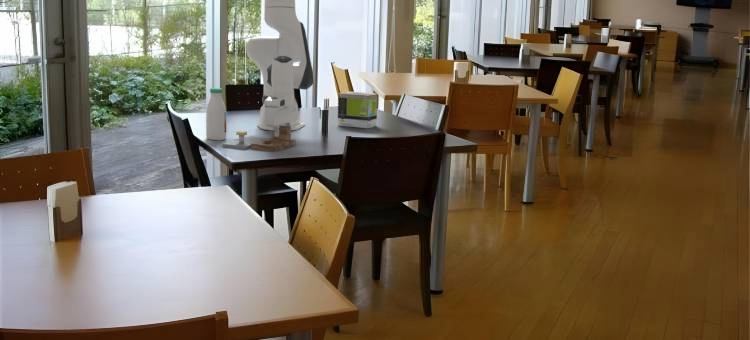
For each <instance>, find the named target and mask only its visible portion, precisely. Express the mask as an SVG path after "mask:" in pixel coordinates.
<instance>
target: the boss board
mask: <svg viewBox="0 0 750 340" xmlns="http://www.w3.org/2000/svg"><path fill="white" fill-rule="evenodd" d="M235 133H236V134H235V135H237V136H238V139H234V140H231V141H227V142H224V143H222V144H221V145H222V148H228V149H237V150H249V149H251V144H252V143H255V142H258V141H262V140H265V139H269V138H270V137H263V136H254V135H250V136H249V135H248V132H247V131H245V130H238V131H235Z"/></svg>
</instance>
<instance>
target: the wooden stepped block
mask: <svg viewBox="0 0 750 340" xmlns="http://www.w3.org/2000/svg"><path fill="white" fill-rule="evenodd" d="M272 132H273V134H272V135H273V136H272V137H268V138H269V139H265V140H262V141H258V142H255V143H252V144H251V148H250V149H251V150H257V151H265V152H274V153H275V152H278V151H281V150H284V149H287V148H290V147H294V146H296V139H292V137H291V136H292V130H291V127H290V126H281V125H279V132H280V136H279V137H275V135H274V133H275V132H274V130H272Z"/></svg>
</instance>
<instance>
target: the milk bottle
mask: <svg viewBox="0 0 750 340" xmlns="http://www.w3.org/2000/svg"><path fill="white" fill-rule="evenodd" d="M209 92H210V93H209V94H210V98H209V101H208V104H207V105H206V117H205V118H206V119H205V120H206V121H205V123H206V126H205V130H206V133H205V134H206V136H205V137H206V139H207V140H210V141H223V140H226V139H227V109H226V105H225V102H224V101H223V97H222V94H223V89H222V88H221V87H211V88H210V89H209Z"/></svg>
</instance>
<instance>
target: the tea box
mask: <svg viewBox="0 0 750 340" xmlns="http://www.w3.org/2000/svg"><path fill="white" fill-rule="evenodd" d="M377 121H378V93H377V92H376V93H374V92H373V93H372V92H362V91H361V92H360V91H344V92H343V91H342V92H339V93H337V126H340V127H348V128H349V127H350V128H358V129H359V128H360V129H370V128H375V127H376V126H377V124H378V123H377Z"/></svg>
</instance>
